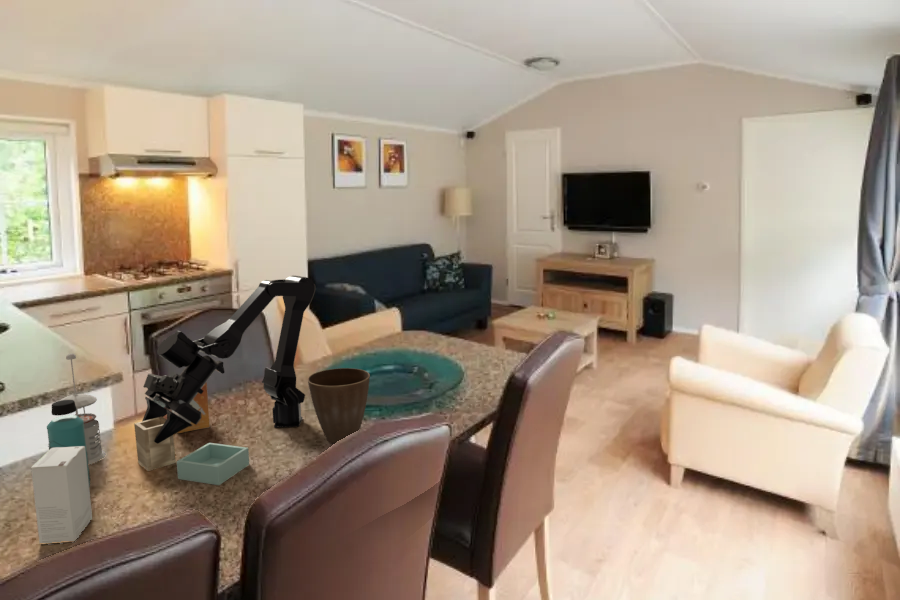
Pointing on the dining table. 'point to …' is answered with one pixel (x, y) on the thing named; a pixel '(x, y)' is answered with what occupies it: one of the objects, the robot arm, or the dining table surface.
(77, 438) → the beverage bottle
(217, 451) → the teal crate
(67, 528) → the skincare box
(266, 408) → the dining table surface
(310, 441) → the dining table surface
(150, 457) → the birch crate
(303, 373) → the dining table surface
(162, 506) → the dining table surface
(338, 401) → the plant pot
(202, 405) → the small box
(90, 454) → the french press
